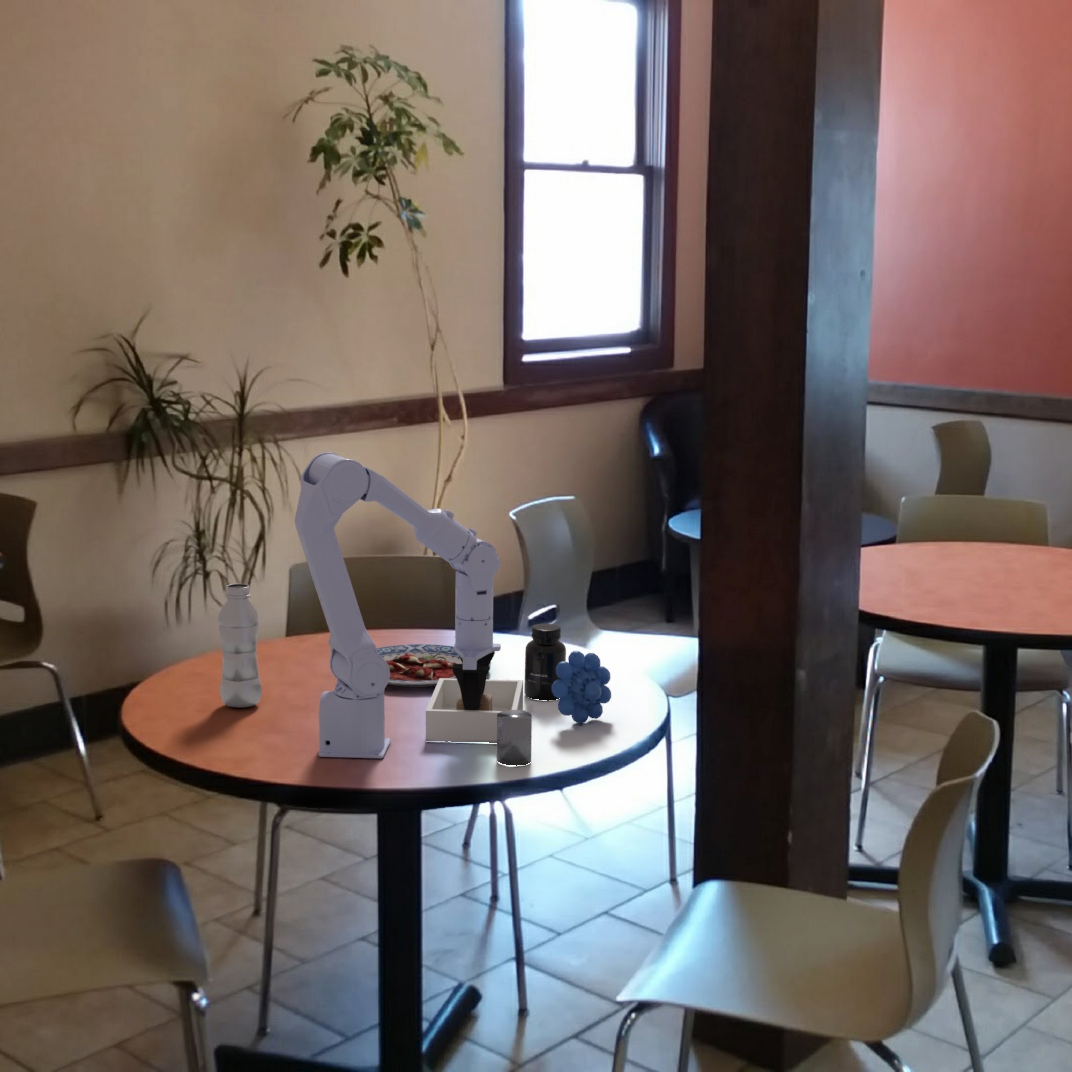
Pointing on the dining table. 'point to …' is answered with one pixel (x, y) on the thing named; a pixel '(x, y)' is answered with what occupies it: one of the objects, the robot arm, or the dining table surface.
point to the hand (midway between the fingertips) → (473, 703)
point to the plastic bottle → (239, 648)
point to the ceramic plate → (419, 663)
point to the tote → (469, 711)
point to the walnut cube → (484, 704)
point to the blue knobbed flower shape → (581, 686)
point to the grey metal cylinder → (514, 737)
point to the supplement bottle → (543, 661)
